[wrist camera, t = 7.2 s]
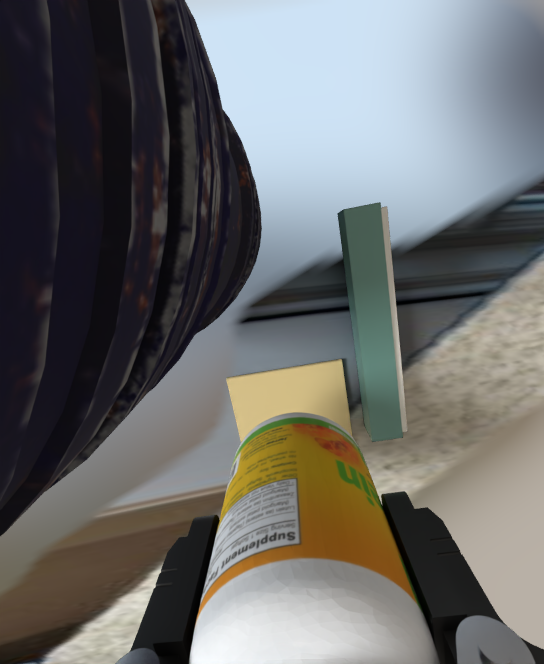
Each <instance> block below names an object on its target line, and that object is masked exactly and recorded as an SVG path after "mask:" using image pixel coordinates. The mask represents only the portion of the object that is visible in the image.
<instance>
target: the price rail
mask: <svg viewBox="0 0 544 664" xmlns="http://www.w3.org/2000/svg"><path fill="white" fill-rule="evenodd" d="M338 220H339V228H340V235H341V244H342V252H343V260H344V267H345V275H346V283H347V291H348V299H349V307H350V315H351V323H352V330H353V338H354V346H355V354H356V362H357V370H358V378H359V385H360V393H361V401H362V409H363V417H364V425H365V428H366V430H367V432H368V434H369V436H370V438H371V440H372V442H376V441H383V440H389V439H396V438H403V433H402V432H407V431H408V430H407V419H406V408H405V397H404V386H403V375H402V364H401V353H400V342H399V331H398V320H397V309H396V298H395V287H394V276H393V265H392V254H391V243H390V232H389V222H388V211H387V207H382V208H381V203H374V204H369V205H364V206H359V207H354V208H349V209H344V210H342V211H341V212H339V213H338Z"/></svg>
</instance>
